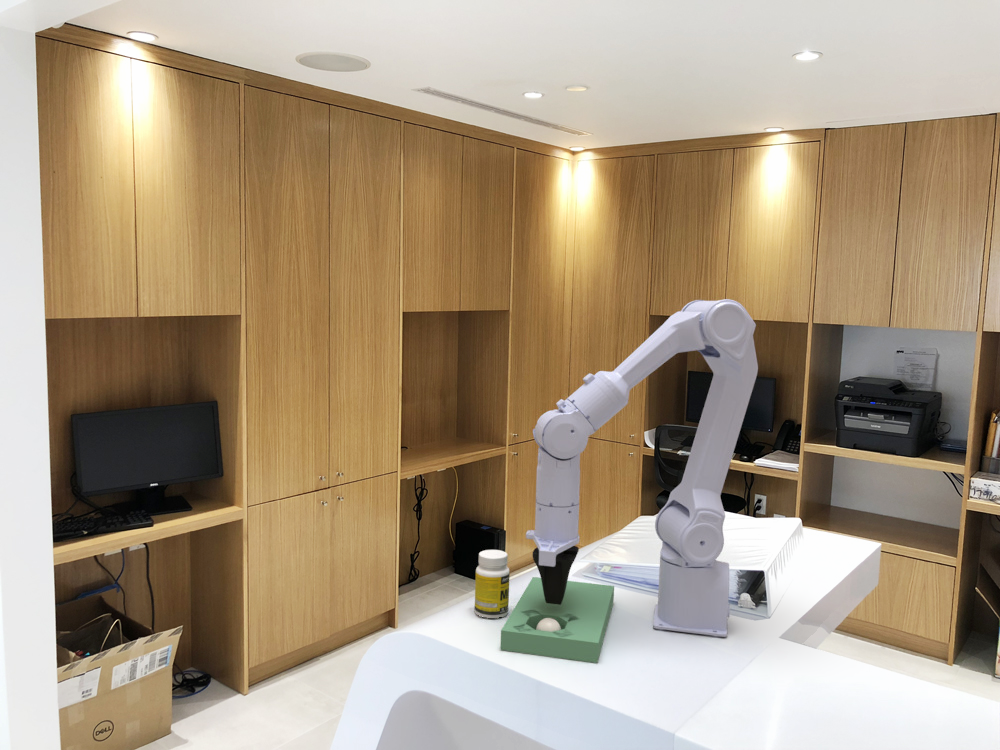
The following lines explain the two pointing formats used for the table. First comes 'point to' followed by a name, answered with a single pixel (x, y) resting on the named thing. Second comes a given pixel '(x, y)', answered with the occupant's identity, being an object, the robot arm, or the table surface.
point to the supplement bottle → (492, 584)
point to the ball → (548, 625)
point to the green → (560, 622)
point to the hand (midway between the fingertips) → (554, 602)
